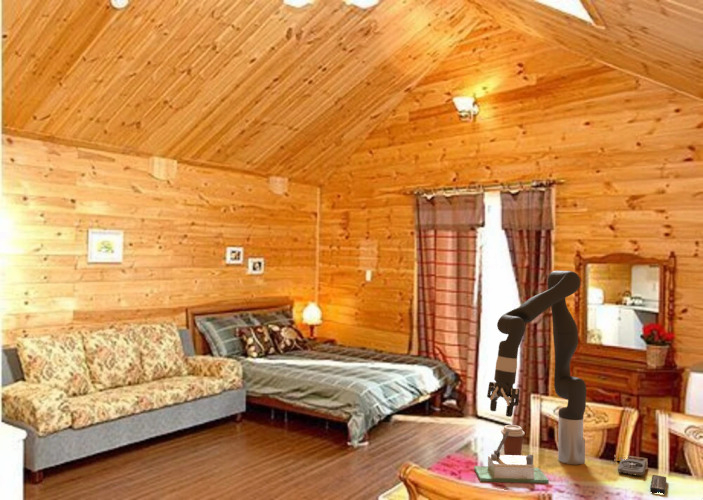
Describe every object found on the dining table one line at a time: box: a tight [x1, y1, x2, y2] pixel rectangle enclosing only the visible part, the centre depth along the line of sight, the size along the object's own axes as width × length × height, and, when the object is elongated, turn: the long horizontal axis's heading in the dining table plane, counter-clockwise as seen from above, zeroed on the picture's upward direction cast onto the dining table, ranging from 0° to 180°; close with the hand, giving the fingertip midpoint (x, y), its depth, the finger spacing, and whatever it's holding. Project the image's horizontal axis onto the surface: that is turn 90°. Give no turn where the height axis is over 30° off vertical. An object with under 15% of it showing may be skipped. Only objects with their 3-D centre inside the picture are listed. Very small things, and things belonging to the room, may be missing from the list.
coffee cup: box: [500, 424, 526, 456], centre depth 240 cm, size 9×9×12 cm
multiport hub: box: [649, 474, 667, 494], centre depth 210 cm, size 4×14×2 cm, turn 150°
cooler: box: [473, 449, 550, 484], centre depth 219 cm, size 24×13×8 cm, turn 88°
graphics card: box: [613, 454, 649, 476], centre depth 228 cm, size 17×4×12 cm
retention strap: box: [495, 429, 510, 456], centre depth 220 cm, size 12×3×1 cm
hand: (500, 413), depth 220 cm, fingers open, 8 cm apart
